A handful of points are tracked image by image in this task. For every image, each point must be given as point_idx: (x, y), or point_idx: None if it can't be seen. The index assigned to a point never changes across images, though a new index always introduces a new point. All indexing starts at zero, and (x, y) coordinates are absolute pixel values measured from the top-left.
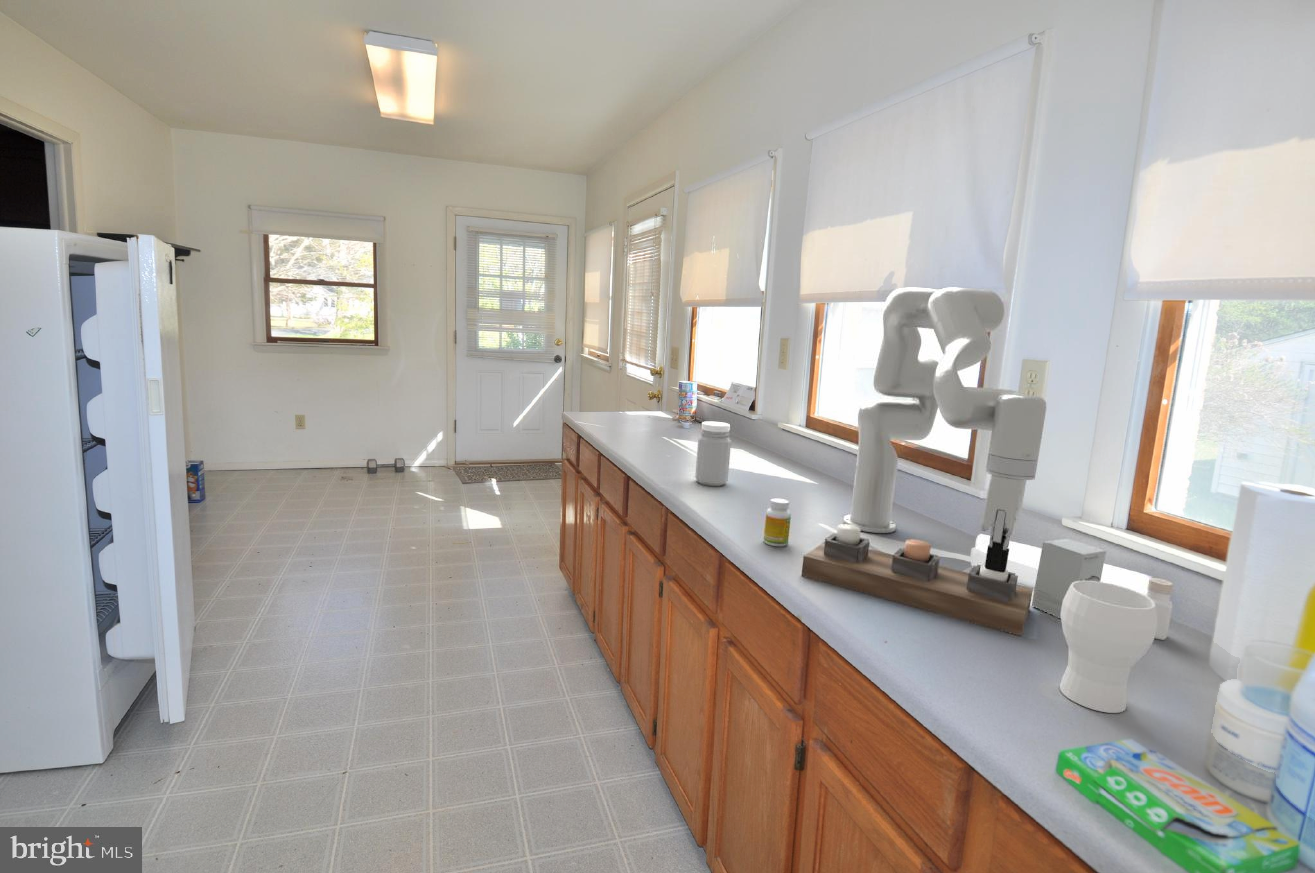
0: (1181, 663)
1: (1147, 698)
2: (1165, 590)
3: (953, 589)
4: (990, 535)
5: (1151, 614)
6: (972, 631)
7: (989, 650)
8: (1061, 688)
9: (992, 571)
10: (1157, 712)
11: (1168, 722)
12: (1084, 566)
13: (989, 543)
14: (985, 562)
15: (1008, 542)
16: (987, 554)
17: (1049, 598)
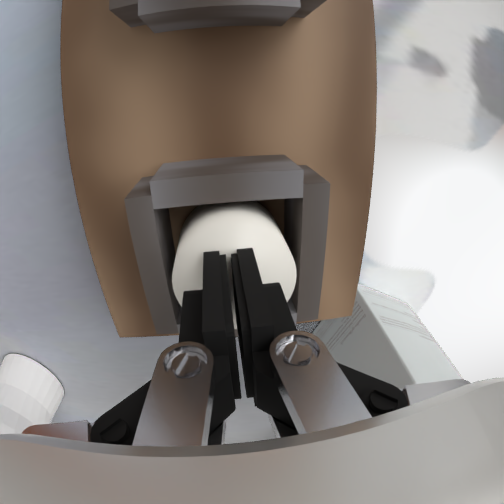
0: (246, 435)
1: (94, 416)
2: None
3: (121, 128)
4: (138, 432)
5: None
6: (59, 211)
7: (14, 263)
8: (7, 356)
9: (188, 284)
10: (72, 418)
11: (63, 420)
12: None
13: (155, 372)
14: (203, 265)
15: (274, 431)
16: (203, 298)
17: (339, 335)
